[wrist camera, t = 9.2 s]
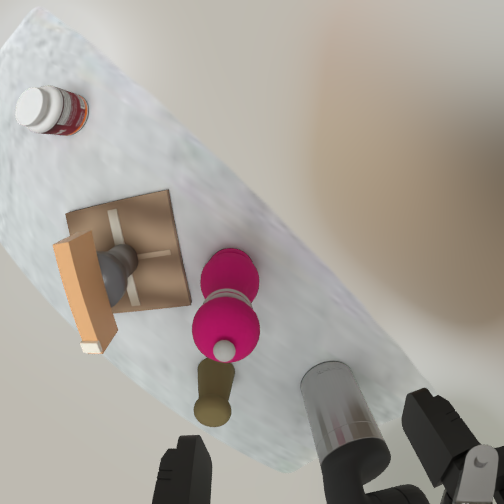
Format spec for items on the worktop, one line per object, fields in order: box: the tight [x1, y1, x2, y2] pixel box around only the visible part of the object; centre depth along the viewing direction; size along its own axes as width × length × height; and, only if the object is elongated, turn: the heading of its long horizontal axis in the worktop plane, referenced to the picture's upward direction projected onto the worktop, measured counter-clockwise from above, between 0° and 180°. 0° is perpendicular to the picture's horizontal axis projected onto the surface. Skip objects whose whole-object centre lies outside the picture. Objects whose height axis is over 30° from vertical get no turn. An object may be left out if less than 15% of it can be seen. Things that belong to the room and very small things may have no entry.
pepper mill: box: [192, 248, 260, 363], centre depth 32 cm, size 7×7×20 cm
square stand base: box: [65, 190, 192, 313], centre depth 36 cm, size 16×16×8 cm
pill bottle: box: [15, 85, 88, 136], centre depth 29 cm, size 6×6×11 cm
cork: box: [194, 358, 235, 427], centre depth 41 cm, size 6×6×11 cm
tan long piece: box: [53, 230, 128, 354], centre depth 29 cm, size 6×12×8 cm, turn 6°
